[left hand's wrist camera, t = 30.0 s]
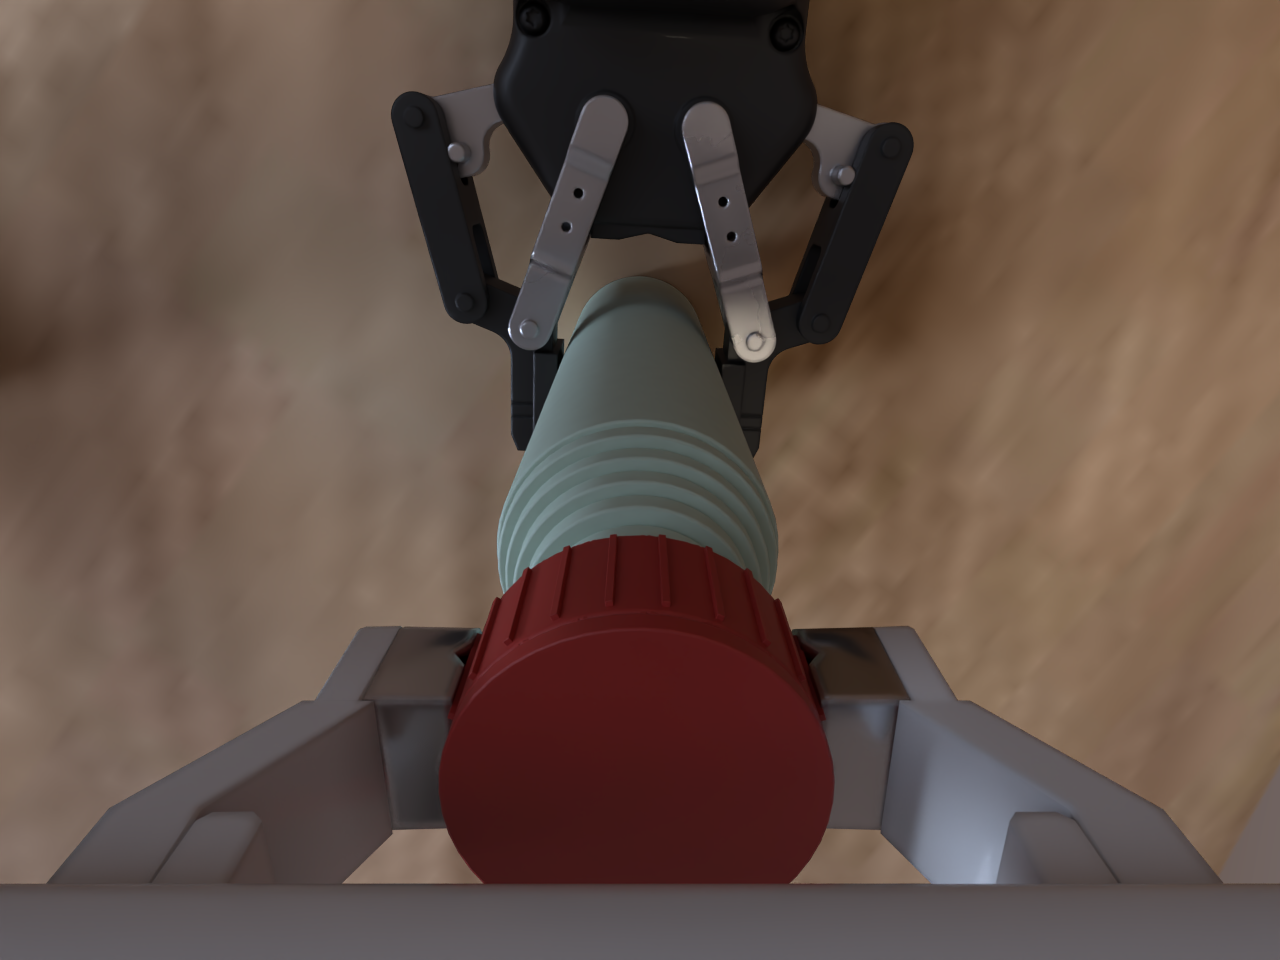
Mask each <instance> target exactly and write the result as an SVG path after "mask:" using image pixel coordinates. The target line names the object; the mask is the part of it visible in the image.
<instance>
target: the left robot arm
mask: <svg viewBox="0 0 1280 960" xmlns="http://www.w3.org/2000/svg"><path fill="white" fill-rule="evenodd" d="M477 633H480V634H482V632H481V629H480V628H450V627H401V626H373V627H364V628H361V629H359V630H358V631H357V633H356V635H355V636H354V638H353V639H352V641H351V643H350V644H349V646H348V648H347V649H346V651H345V652H344V654H343V656H342V657H341V659H340V660H339V662H338V664H337V665H336V667H335V669H334V670H333V672H332V673H331V675H330V677H329V678H328V680H327V681H326V683H325V685H324V686H323V688H322V690H321V691H320V693H319V694H318V696H317V698H316V699H315V701H301V702H299V703H298V704H296V705H294V706H292V707H290V708H289V709H287V710H285V711H283V712H281V713H280V714H278V715H276V716H274V717H272V718H271V719H269V720H267V721H265V722H263V723H262V724H260V725H258V726H256V727H254V728H253V729H251V730H249V731H247V732H245V733H244V734H242V735H240V736H238V737H236V738H235V739H233V740H231V741H229V742H227V743H226V744H224V745H222V746H220V747H218V748H217V749H215V750H213V751H211V752H209V753H208V754H206V755H204V756H202V757H200V758H199V759H197V760H195V761H193V762H191V763H190V764H188V765H186V766H184V767H182V768H181V769H179V770H177V771H175V772H173V773H172V774H170V775H168V776H166V777H164V778H163V779H161V780H159V781H157V782H155V783H154V784H152V785H150V786H148V787H147V788H145V789H143V790H141V791H139V792H138V793H136V794H134V795H132V796H130V797H129V798H127V799H125V800H123V801H121V802H120V803H118V804H116V805H114V806H112V807H111V808H109V809H108V810H107V811H106V813H105V814H104V815H103V816H102V817H101V819H100V820H99V821H98V822H97V823H96V825H95V826H94V827H93V828H92V829H91V831H90V832H89V833H88V834H87V835H86V837H85V838H84V839H83V840H82V841H81V843H80V844H79V845H78V846H77V847H76V849H75V850H74V851H73V852H72V853H71V854H70V856H69V857H68V858H67V859H66V860H65V862H64V863H63V864H62V865H61V866H60V868H59V869H58V870H57V871H56V872H55V874H54V875H53V876H52V877H51V878H50V880H49V881H48V882H47V883H46V884H0V960H1280V884H1224V883H1223V882H1222V881H1221V880H1220V878H1219V877H1218V876H1217V875H1216V873H1215V872H1214V871H1213V870H1212V869H1211V867H1210V866H1209V865H1208V864H1207V862H1206V861H1205V860H1204V859H1203V858H1202V856H1201V855H1200V854H1199V853H1198V851H1197V850H1196V849H1195V848H1194V846H1193V845H1192V844H1191V843H1190V842H1189V840H1188V839H1187V838H1186V837H1185V835H1184V834H1183V833H1182V832H1181V831H1180V829H1179V828H1178V827H1177V826H1176V824H1175V823H1174V822H1173V821H1172V820H1171V818H1170V817H1169V816H1168V815H1167V813H1166V812H1165V811H1164V810H1163V809H1162V808H1160V807H1158V806H1156V805H1154V804H1153V803H1151V802H1149V801H1147V800H1146V799H1144V798H1142V797H1140V796H1138V795H1137V794H1135V793H1133V792H1131V791H1130V790H1128V789H1126V788H1124V787H1122V786H1121V785H1119V784H1117V783H1115V782H1114V781H1112V780H1110V779H1108V778H1107V777H1105V776H1103V775H1101V774H1099V773H1098V772H1096V771H1094V770H1092V769H1091V768H1089V767H1087V766H1085V765H1083V764H1082V763H1080V762H1078V761H1076V760H1075V759H1073V758H1071V757H1069V756H1067V755H1066V754H1064V753H1062V752H1060V751H1059V750H1057V749H1055V748H1053V747H1051V746H1050V745H1048V744H1046V743H1044V742H1043V741H1041V740H1039V739H1037V738H1035V737H1034V736H1032V735H1030V734H1028V733H1027V732H1025V731H1023V730H1021V729H1019V728H1018V727H1016V726H1014V725H1012V724H1011V723H1009V722H1007V721H1005V720H1003V719H1002V718H1000V717H998V716H996V715H995V714H993V713H991V712H989V711H987V710H986V709H984V708H982V707H980V706H979V705H977V704H975V703H973V702H971V701H958V700H957V698H956V696H955V695H954V693H953V692H952V690H951V688H950V687H949V685H948V683H947V682H946V680H945V678H944V677H943V675H942V674H941V672H940V670H939V669H938V667H937V665H936V664H935V662H934V661H933V659H932V657H931V656H930V654H929V652H928V651H927V649H926V648H925V646H924V644H923V643H922V641H921V639H920V638H919V636H918V634H917V633H916V631H915V630H914V629H913V628H911V627H909V626H889V627H860V628H819V629H793V630H792V634H793V635H796V636H797V639H798V643H799V646H800V649H801V650H802V651H803V652H804V654H805V657H806V660H807V663H808V666H809V671H808V673H809V676H810V679H811V682H812V685H813V687H814V690H815V693H816V696H817V699H818V702H819V705H820V708H823V710H824V713H825V716H826V720H824V721H821V723H822V726H823V729H824V732H825V735H826V738H827V741H828V745H829V749H830V752H831V756H832V760H833V768H834V778H835V785H834V800H833V805H832V810H831V814H830V818H829V822H828V825H827V827H826V828H833V829H870V830H881V834H882V835H883V836H884V837H885V838H886V839H887V840H888V841H889V842H890V843H891V844H892V845H893V846H894V847H895V848H896V849H897V850H898V851H899V852H900V853H901V854H902V855H903V856H904V857H905V858H906V859H907V860H908V861H909V862H910V863H911V864H912V865H913V866H914V867H915V868H916V869H917V870H918V871H919V872H920V873H921V874H922V875H923V876H924V877H925V878H926V879H927V880H928V881H929V882H930V883H931V884H342V883H343V882H344V881H345V880H346V879H347V878H348V877H349V876H350V875H351V874H352V873H353V872H354V871H355V870H356V869H357V868H358V867H359V866H360V865H361V864H362V863H363V862H364V861H365V860H366V859H367V858H368V857H369V856H370V855H371V854H372V853H373V852H374V851H375V850H376V849H377V848H378V847H379V846H381V845H382V844H383V843H384V842H385V841H386V840H387V839H388V838H389V837H390V836H391V835H392V830H403V829H438V828H447V827H446V824H445V821H444V818H443V815H442V810H441V804H440V798H439V767H440V761H441V756H442V751H443V748H444V745H445V742H446V739H447V736H448V733H449V730H450V727H451V724H452V721H453V720H452V719H448V718H447V717H448V714H449V711H450V708H451V706H452V704H453V701H454V698H455V696H456V693H457V690H458V687H459V685H460V682H461V679H462V676H463V674H464V671H465V665H466V662H467V660H468V657H469V654H470V651H471V649H472V648H473V645H474V642H475V639H476V636H477Z"/></svg>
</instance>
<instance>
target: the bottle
mask: <svg viewBox="0 0 1280 960" xmlns="http://www.w3.org/2000/svg"><path fill="white" fill-rule="evenodd" d="M612 534H617V536H634V535H646V536H647V535H651V536H656V537H659V534H661V535H666V538H670V539H675V540H680V541H685V542H688V543H691V544H695V545H699V546H700V547H704V548H705V547H706V546H708V547H711V548H712V550H713V552H715V553H717V554H719V555H721V556H723V557H725V558H727V559H729V560H730V561H732V562H733V563H735V564H736V565H738V566H739V567H741V568H742V569H744V570H745V569H746V568H748V569H749V570H751V571H752V574H753V578H754V579H756V580H757V581H758V582H759V583H760V584H761V585H762V586H763V587H764V588H765V589H766V591H767V592H768V593H769V594H770V595H771V593H772V590H773V586H774V583H775V577H776V570H777V558H778V532H777V526H776V519H775V516H774V513H773V510H772V506H771V503H770V500H769V498H768V495H767V493H766V490H765V488H764V485H763V483H762V480H761V477H760V475H759V472H758V470H757V467H756V465H755V462H754V460H753V457H752V454H751V452H750V449H749V447H748V444H747V442H746V439H745V437H744V434H743V431H742V429H741V426H740V424H739V421H738V419H737V416H736V414H735V411H734V408H733V406H732V403H731V401H730V398H729V396H728V393H727V391H726V388H725V385H724V383H723V380H722V378H721V375H720V373H719V370H718V368H717V365H716V362H715V360H714V357H713V355H712V352H711V350H710V347H709V345H708V342H707V339H706V337H705V334H704V332H703V329H702V327H701V324H700V322H699V319H698V316H697V314H696V312H695V310H694V308H693V307H692V305H691V303H690V302H689V301H688V299H687V298H686V297H685V296H684V295H683V294H682V293H681V292H680V291H679V290H677V289H676V288H674V287H673V286H672V285H670V284H668V283H666V282H664V281H661V280H658V279H655V278H651V277H644V276H634V277H626V278H622V279H619V280H616V281H613V282H611V283H609V284H607V285H605V286H604V287H603V288H601V289H600V290H598V291H597V292H596V293H595V294H594V295H593V296H592V297H591V298H590V300H589V301H588V302H587V304H586V305H585V307H584V308H583V310H582V312H581V315H580V317H579V319H578V322H577V324H576V327H575V329H574V332H573V334H572V337H571V339H570V342H569V344H568V347H567V349H566V352H565V354H564V357H563V359H562V362H561V364H560V367H559V369H558V372H557V374H556V377H555V379H554V381H553V384H552V386H551V389H550V391H549V394H548V396H547V399H546V401H545V404H544V406H543V409H542V411H541V414H540V416H539V419H538V421H537V424H536V426H535V429H534V431H533V434H532V436H531V439H530V441H529V444H528V446H527V449H526V451H525V454H524V456H523V459H522V461H521V464H520V466H519V469H518V471H517V474H516V476H515V479H514V481H513V484H512V486H511V489H510V491H509V494H508V496H507V499H506V501H505V504H504V507H503V510H502V513H501V517H500V520H499V527H498V534H497V557H498V570H499V576H500V583H501V586H502V589H503V593H504V594H505V592H506V591H507V590H508V589H509V588H510V587H511V586H512V585H513V584H514V583H515V582H516V581H517V580H518V579H519V578H520V577H521V576H522V574H523V570H524V569H526V568H527V567H529V568H530V569H532V568H533V567H534V566H536V565H537V564H539V563H541V562H542V561H543V560H546V559H548V558H549V557H551V556H553V555H555V554H557V553H559V552H561V551H563V547H565V546H568V545H570V547H573V546H576V545H579V544H583V543H585V542H588V541H592V540H597V539H603V538H610V535H612Z"/></svg>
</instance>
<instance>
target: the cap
mask: <svg viewBox="0 0 1280 960" xmlns="http://www.w3.org/2000/svg"><path fill="white" fill-rule="evenodd" d="M808 671H809V666H808V663H807V660H806V657H805V654H804V652H803V651H802V650H801V649H800V646H799V643H798V639H797V636H796V635H793V634H792V632H791V629H790V627H789V624H788V621H787V618H786V615H785V612H784V609H783V606H782V603H781V601H780V600H779V599H776V600H774V599H773V597H772V596H771V595H770V594H769V593H768V592H767V591H766V589H765V588H764V587H763V586H762V585H761V584H760V583H759V582H758V581H757V580H756V579H754V578H753V574H752V571H751V570H749V569H748V568H746V569H745V570H744V569H742V568H741V567H739V566H738V565H736V564H735V563H733V562H732V561H730V560H729V559H727V558H725V557H723V556H721V555H719V554H717V553H715V552H713V550H712V548H711V547H708V546H706V547H705V548H704V547H700V546H699V545H695V544H691V543H688V542H685V541H680V540H675V539H670V538H666V535H661V534H659V537H656V536H651V535H647V536H646V535H634V536H617V534H612V535H610V538H603V539H597V540H592V541H588V542H585V543H583V544H579V545H576V546H573V547H570V545H568V546H565V547H563V551H561V552H559V553H557V554H555V555H553V556H551V557H549V558H548V559H546V560H543V561H542V562H541V563H539V564H537V565H536V566H534V567H533V568H532V569H530V568H529V567H527V568H526V569H524V570H523V574H522V576H521V577H520V578H519V579H518V580H517V581H516V582H515V583H514V584H513V585H512V586H511V587H510V588H509V589H508V590H507V591H506V592H505V594H504V595H503V596H502V598H501V599H500V598H498V597H496V598H495V600H494V601H493V604H492V607H491V610H490V613H489V616H488V619H487V622H486V624H485V627H484V630H483V632H482V634H480V633H477V636H476V639H475V642H474V645H473V648H472V649H471V651H470V654H469V657H468V660H467V662H466V665H465V671H464V674H463V676H462V679H461V682H460V685H459V687H458V690H457V693H456V696H455V698H454V701H453V704H452V706H451V708H450V711H449V714H448V717H447V718H448V719H452V720H453V721H452V724H451V727H450V730H449V733H448V736H447V739H446V742H445V745H444V748H443V751H442V756H441V761H440V767H439V798H440V804H441V810H442V815H443V818H444V821H445V824H446V827H447V830H448V833H449V835H450V837H451V839H452V841H453V843H454V845H455V847H456V849H457V851H458V853H459V854H460V855H461V857H462V858H463V860H464V861H465V863H466V864H467V865H468V867H469V868H470V870H471V871H472V872H473V873H474V874H475V875H476V876H477V877H478V878H479V879H480V880H481V881H482V882H483V883H484V884H789V883H790V882H791V881H792V880H793V879H794V878H796V877H797V875H798V874H799V873H800V872H801V870H802V869H803V868H804V867H805V865H806V864H807V863H808V862H809V860H810V859H811V857H812V856H813V854H814V852H815V851H816V849H817V847H818V845H819V844H820V842H821V840H822V837H823V835H824V832H825V830H826V827H827V825H828V822H829V818H830V814H831V810H832V805H833V800H834V785H835V778H834V768H833V760H832V756H831V752H830V749H829V745H828V741H827V738H826V735H825V732H824V729H823V726H822V723H821V721H824V720H826V716H825V713H824V710H823V708H820V705H819V702H818V699H817V696H816V693H815V690H814V687H813V685H812V682H811V679H810V676H809V673H808Z"/></svg>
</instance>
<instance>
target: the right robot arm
mask: <svg viewBox="0 0 1280 960" xmlns="http://www.w3.org/2000/svg"><path fill="white" fill-rule="evenodd" d="M808 8H809V0H513V28H512V34H511V38H510V42H509V46H508V48H507V51H506V53H505V56H504V58H503V60H502V62H501V63H500V65H499V67H498V69H497V72H496V75H495V78H494V84H490V85H485V86H481V87H476V88H472V89H467V90H463V91H458V92H454V93H449V94H445V95H440V96H436V97H431V96H428V95H425V94H422V93H419V92H414V91H411V92H406V93H403V94H401V95H400V96H399V97H398V98H397V99H396V100H395V102H394V104H393V106H392V110H391V119H392V123H393V127H394V131H395V134H396V138H397V141H398V145H399V148H400V152H401V155H402V159H403V162H404V166H405V169H406V173H407V176H408V180H409V183H410V187H411V190H412V194H413V197H414V201H415V204H416V208H417V212H418V215H419V219H420V222H421V226H422V229H423V233H424V236H425V240H426V243H427V247H428V250H429V254H430V257H431V261H432V264H433V268H434V271H435V275H436V278H437V282H438V286H439V289H440V293H441V296H442V300H443V303H444V307H445V309H446V311H447V313H448V314H449V316H450V317H451V318H453V319H454V320H455V321H457V322H460V323H464V324H470V323H473V324H476V325H478V326H481V327H483V328H485V329H488V330H490V331H493V332H495V333H497V334H498V335H499V336H501V337H502V338H503V339H504V341H505V342H506V343H507V345H508V347H509V350H510V353H511V435H512V437H513V440H514V442H515V445H516V447H517V449H518V450H522V451H526V449H527V446H528V444H529V441H530V439H531V436H532V434H533V431H534V429H535V426H536V424H537V421H538V419H539V416H540V414H541V411H542V409H543V406H544V404H545V401H546V399H547V396H548V394H549V391H550V389H551V386H552V384H553V381H554V379H555V377H556V374H557V372H558V369H559V367H560V364H561V362H562V359H563V357H564V339H557V323H558V320H559V318H560V315H561V312H562V310H563V307H564V305H565V302H566V299H567V297H568V294H569V291H570V289H571V286H572V283H573V281H574V278H575V275H576V273H577V270H578V268H579V265H580V263H581V260H582V258H583V255H584V253H585V250H586V247H587V245H588V242H589V240H590V237H591V238H601V239H618V240H619V239H624V238H628V237H633V236H638V235H642V234H652V235H655V236H658V237H661V238H664V239H667V240H670V241H673V242H676V243H687V244H703V247H704V251H705V255H706V259H707V262H708V266H709V270H710V273H711V276H712V279H713V283H714V287H715V291H716V295H717V299H718V303H719V307H720V311H721V315H722V319H723V323H724V327H725V333H724V344H723V348H716V352H715V362H716V365H717V368H718V370H719V373H720V375H721V378H722V380H723V383H724V385H725V388H726V391H727V393H728V396H729V398H730V401H731V403H732V406H733V408H734V411H735V414H736V416H737V419H738V421H739V424H740V426H741V429H742V431H743V434H744V437H745V439H746V442H747V444H748V447H749V449H750V452H751V454H752V457H753V458H754V456H755V454H756V452H757V450H758V448H759V442H760V433H761V425H762V415H763V407H764V399H765V390H766V381H767V373H768V368H769V365H770V363H771V362H772V360H773V359H774V358H775V357H776V356H777V355H778V354H779V353H780V352H782V351H784V350H786V349H789V348H792V347H796V346H799V345H802V344H806V343H809V342H810V343H813V344H825V343H828V342H830V341H831V340H833V339H834V338H835V337H836V336H837V335H838V333H839V331H840V329H841V327H842V325H843V322H844V320H845V317H846V315H847V312H848V310H849V307H850V305H851V302H852V300H853V298H854V295H855V293H856V290H857V288H858V285H859V283H860V280H861V278H862V275H863V273H864V271H865V268H866V266H867V263H868V261H869V258H870V256H871V253H872V251H873V248H874V246H875V244H876V241H877V239H878V236H879V234H880V231H881V229H882V226H883V224H884V222H885V219H886V217H887V214H888V212H889V209H890V207H891V204H892V202H893V199H894V197H895V195H896V192H897V190H898V187H899V185H900V182H901V180H902V177H903V175H904V172H905V170H906V168H907V165H908V163H909V160H910V158H911V155H912V152H913V147H914V142H913V137H912V135H911V133H910V131H909V130H908V128H906V127H905V126H904V125H902V124H900V123H895V122H890V123H878V124H873V123H870V122H867V121H864V120H861V119H859V118H856V117H853V116H850V115H847V114H845V113H842V112H839V111H836V110H833V109H831V108H828V107H825V106H822V105H819V104H817V95H816V91H815V87H814V85H813V82H812V80H811V77H810V74H809V71H808V67H807V62H806V55H805V35H806V25H807V17H808ZM502 124H504V125H505V126H506V128H507V129H508V131H509V133H510V134H511V136H512V137H513V139H514V140H515V142H516V143H517V145H518V147H519V148H520V150H521V151H522V153H523V154H524V156H525V157H526V159H527V160H528V162H529V164H530V165H531V167H532V168H533V170H534V171H535V173H536V174H537V176H538V178H539V179H540V181H541V182H542V184H543V185H544V187H545V188H546V190H547V191H548V193H549V195H550V196H551V201H550V204H549V206H548V209H547V212H546V215H545V218H544V220H543V223H542V226H541V229H540V232H539V235H538V237H537V240H536V243H535V246H534V249H533V252H532V255H531V259H530V264H529V267H528V270H527V273H526V276H525V279H524V281H523V284H522V287H521V288H518V287H516V286H514V285H511V284H509V283H507V282H504V281H502V280H500V279H498V275H497V271H496V267H495V263H494V259H493V255H492V251H491V247H490V244H489V240H488V236H487V232H486V228H485V224H484V220H483V216H482V212H481V208H480V205H479V201H478V197H477V193H476V189H475V185H474V181H473V177H472V176H476V175H478V174H480V173H482V172H483V171H484V170H485V169H486V167H487V166H488V163H489V160H490V150H489V142H490V138H491V135H492V133H493V132H494V130H495V129H496V128H497V127H498V126H500V125H502ZM802 142H803V143H805V144H806V145H807V146H808V147H809V149H810V150H811V152H812V155H813V160H814V165H813V170H812V184H813V186H814V188H815V190H816V191H817V192H818V193H819V194H820V195H822V196H824V197H826V198H825V201H824V204H823V206H822V209H821V211H820V214H819V217H818V219H817V222H816V225H815V227H814V230H813V233H812V235H811V238H810V241H809V243H808V246H807V249H806V251H805V254H804V256H803V259H802V262H801V264H800V267H799V270H798V272H797V275H796V278H795V280H794V283H793V286H792V288H791V291H790V293H789V296H786V297H782V298H779V299H776V300H773V301H769V302H768V300H767V296H766V291H765V287H764V282H763V276H762V274H763V273H762V265H761V260H760V256H759V251H758V247H757V243H756V238H755V234H754V230H753V225H752V221H751V216H750V212H749V207H750V206H751V205H752V203H753V202H754V201H755V200H756V198H757V197H758V196H759V195H760V194H761V192H762V191H763V190H764V189H765V187H766V186H767V185H768V184H769V183H770V181H771V180H772V179H773V178H774V176H775V175H776V174H777V173H778V172H779V170H780V169H781V168H782V167H783V165H784V164H785V163H786V162H787V161H788V159H789V158H790V157H791V156H792V154H793V153H794V152H795V151H796V150H797V148H798V147H799V146H800V145H801V143H802Z"/></svg>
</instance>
